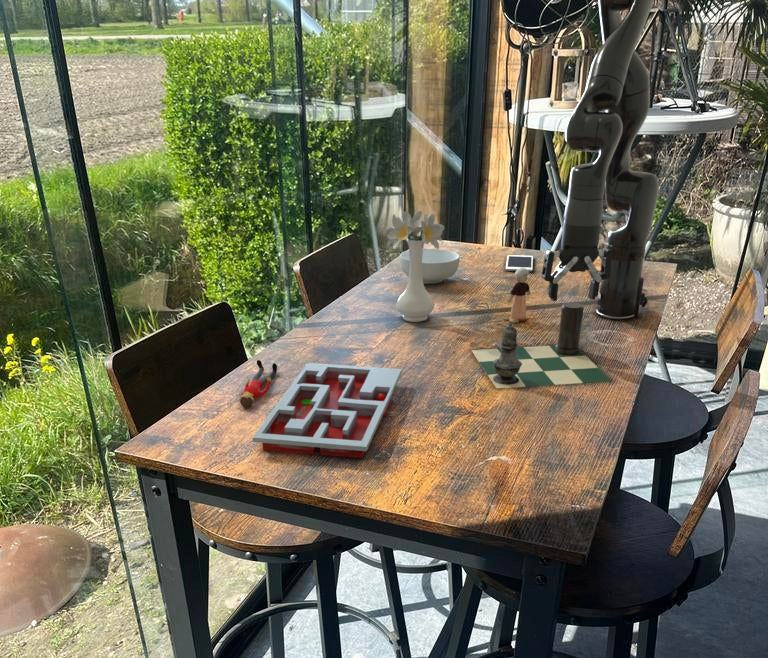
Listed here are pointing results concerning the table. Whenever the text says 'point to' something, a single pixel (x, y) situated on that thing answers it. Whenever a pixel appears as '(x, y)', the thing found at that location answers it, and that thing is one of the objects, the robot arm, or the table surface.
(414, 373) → the table surface
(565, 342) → the dark grey cylinder
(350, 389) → the maze game
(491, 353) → the chess mat
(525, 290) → the grandmother figurine
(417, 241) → the flower vase
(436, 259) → the cereal bowl
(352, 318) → the table surface
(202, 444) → the table surface
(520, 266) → the cell phone
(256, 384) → the person figure
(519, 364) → the grey tall turned piece
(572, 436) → the table surface
